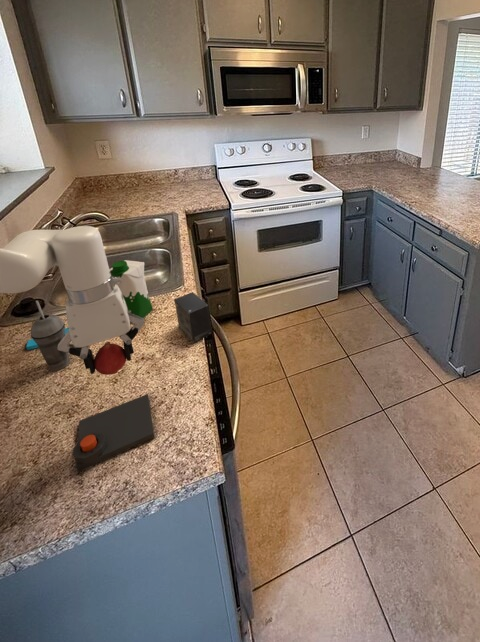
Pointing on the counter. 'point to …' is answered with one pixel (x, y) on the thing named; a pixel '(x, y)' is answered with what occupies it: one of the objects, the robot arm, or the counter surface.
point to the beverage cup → (50, 339)
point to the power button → (88, 443)
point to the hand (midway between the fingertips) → (111, 362)
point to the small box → (193, 317)
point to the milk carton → (133, 286)
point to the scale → (115, 431)
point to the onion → (109, 359)
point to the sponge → (33, 345)
